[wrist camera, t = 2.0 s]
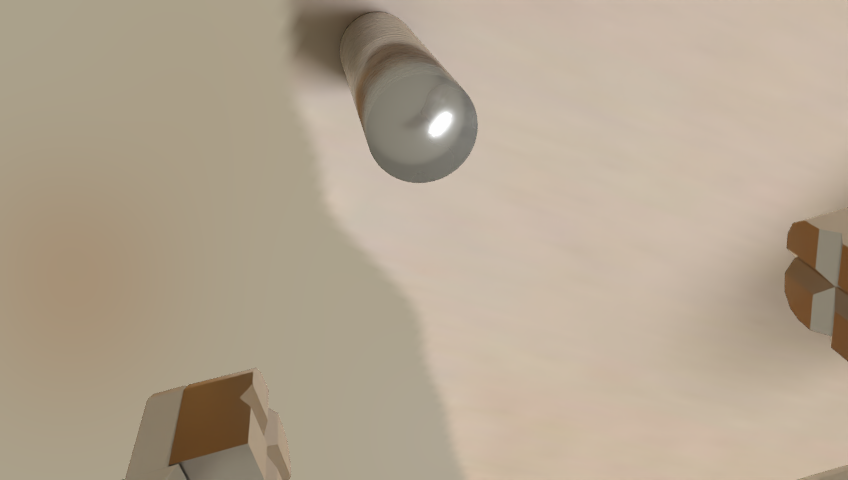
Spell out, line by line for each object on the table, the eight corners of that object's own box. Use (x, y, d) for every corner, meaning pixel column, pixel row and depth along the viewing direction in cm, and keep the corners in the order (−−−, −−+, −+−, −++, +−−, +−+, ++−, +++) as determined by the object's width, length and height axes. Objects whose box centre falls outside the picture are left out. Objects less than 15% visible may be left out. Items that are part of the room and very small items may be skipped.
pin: (330, 22, 26) (354, 89, 17) (406, 4, 26) (467, 61, 18) (349, 97, 28) (380, 194, 19) (422, 79, 28) (485, 167, 19)
